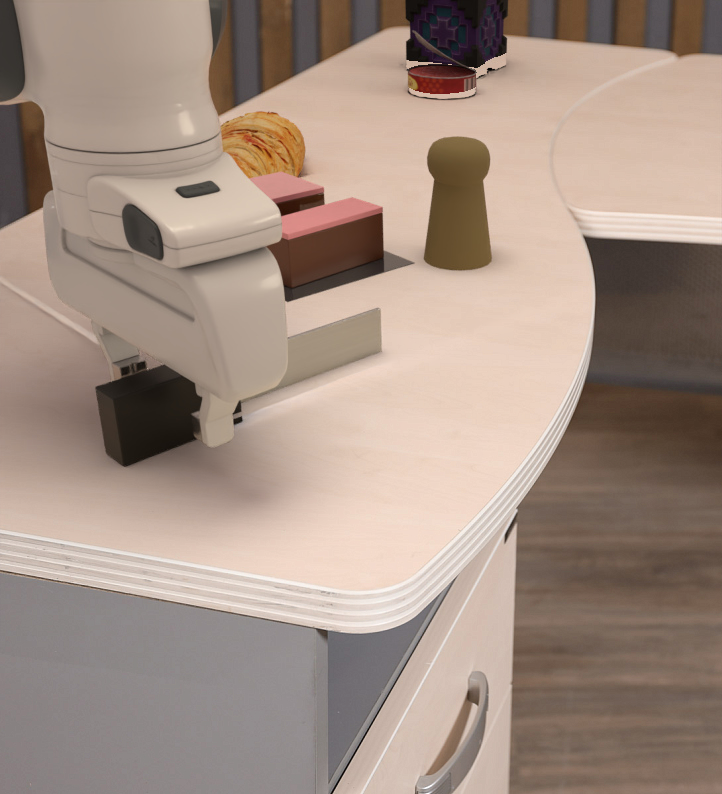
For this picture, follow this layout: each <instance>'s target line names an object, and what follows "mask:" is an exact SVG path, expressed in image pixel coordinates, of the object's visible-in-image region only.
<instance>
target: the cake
mask: <svg viewBox="0 0 722 794" xmlns="http://www.w3.org/2000/svg"><path fill="white" fill-rule="evenodd" d="M249 179H250V180H251V181H252V182H253V183H254V184H255V185H256V186H257V187H258V188H259V189H260V190H261V191H262V192H264V193H265V194H266V195H267V196H268V197H269V198H270V199H271V200H272V201H273V202H274V203H275V204H276V205H277V207H278V208H279V211H280V214H281V216H285V215H288V214H292V213H296V212H299V211H303V210H307V209H310V208H314V207H318V206H321V205H325V204H326V203H325V202H326V201H325V187H324V186H323V185H320V184H317V183H314V182H311V181H309V180H306V179H303V178H300V177H299V176H298V177H295V176H292V175H290V174H287V173H284V172H277V173H272V174H268V175H263V176H258V177H253V178H249ZM414 264H415V262H414V261H412V260H410V259H407V258H404V257H401V256H400V255H397V254H395V253H393V252H390V251H387V250H384V258H381V259H378V260H375V261H372V262H369V263H366V264H363V265H360V266H357V267H354V268H351V269H348V270H345V271H342V272H339V273H336V274H333V275H330V276H327V277H324V278H321V279H318V280H315V281H312V282H309V283H306V284H303V285H300V286H297V287H294V288H290V287H287V286H285V285H283V287H284V296H285V303H289V302H294V301H296V300H300V299H302V298H306V297H309V296H312V295H313V296H314V295H316V294H319V293H321V292H322V293H323V292H327V291H329V290H333V289H335V288H339V287H342V286H346V285H349V284H352V283H355V282H358V281H362V280H366V279H368V278H372V277H376V276H379V275H382V274H385V273H388V272H391V271H394V270H397V269H400V268H405V267H407V266H410V265H411V266H412V265H414Z"/></svg>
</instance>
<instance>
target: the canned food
mask: <svg viewBox="0 0 722 794" xmlns="http://www.w3.org/2000/svg"><path fill="white" fill-rule="evenodd" d="M412 32H413V33H415V36H416V38H417V39H418V41H419V42H420V43H421V44H423V45H424V46H425V47H426V48H428V49H429V50H431V51H432V52H434V53H436V54H438V55H439V56H442V57H444V58H446V59H448V60H450V61H452V62H455V63H457V64H459V65H462V64H460V63H458V62H456V61H455V60H453V59H451V58H449V57H448V56H446V55H445V54H443V53H442V52H440V51H439V50H437V49H436V48H434V47H433V46H432V45H430V44H429V43H428V42H427V41H426V40H424V39H423V38H422V37H421V36H420V35H419V34H418V33H417V32H416V31H414V30H412ZM459 65H448V64H428V65H418V66H414V67H411V68H409V69H408V70H407V88H408V87H409V88H411V89H413V90H415V91H419V92H423V93H430V94H450V93H459V92H465V91H468V90H471V89H473V88H475V87H476V88H477V78H476V73H477V72H476V70H475V69H472V68H469V67H466V66H464V65H462V66H459Z"/></svg>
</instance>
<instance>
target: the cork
mask: <svg viewBox="0 0 722 794" xmlns="http://www.w3.org/2000/svg"><path fill="white" fill-rule="evenodd" d="M431 143H432V144H431V145H430V147H429V148H428V152H427V156H426V165H427V169H428V172H429V175H431V176H432V178H433V184H432V190H431V191H432V193H431V200H430V207H429V216H428V223H427V230H426V238H425V246H424V252H423V260H424V262H425V263H426V264H428V265H429V266H431V267H434V268H438V269H441V270H445V271H459V272H460V271H473V270H476V269H482V268H484V267H486V266H488V265H490V264H491V263H492V259H493V255H492V246H491V238H490V230H489V221H488V220H489V219H488V211H487V210H488V209H487V203H486V192H485V185H484V184H485V183H484V180H485V179H486V177H487V176H488V174H489V171H490V166H491V154H490V150H489V148H488V147H487V144H485V143H484V142H483V141H481V140H480V139H477V138H473V137H469V136H468V137H467V136H446V137H441V138H439V139H436V140H435V141H433V142H431Z"/></svg>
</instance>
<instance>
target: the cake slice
mask: <svg viewBox="0 0 722 794" xmlns="http://www.w3.org/2000/svg"><path fill="white" fill-rule="evenodd" d="M383 208H384V207H383V206H381V205H378V204H374V203H371V202H368V201H365V200H362V199H359V198H356V197H352V196H351V197H347V198H344V199H340V200H337V201H333V202H329V203H325V205H321V206H318V207H314V208H310V209H307V210H303V211H299V212H296V213H292V214H288V215H285V216H281V219H282V238H281V240H280V241H279V242H277V243H274V244H271V245H268V246H266V247H267V248H268V249H269V250H270V251H271V253H272V254H273V255H274V257H275V259H276V261H277V263H278V266H279V268H280V272H281V276H282V280H283V285H285V286H287V287H290V288H294V287H297V286H300V285H303V284H306V283H309V282H312V281H315V280H318V279H321V278H324V277H327V276H330V275H333V274H336V273H339V272H342V271H345V270H348V269H351V268H354V267H357V266H360V265H363V264H366V263H369V262H372V261H375V260H378V259H381V258H384V251H385V245H384V244H385V243H384V242H385V241H384V213H383V212H384V209H383Z"/></svg>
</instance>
